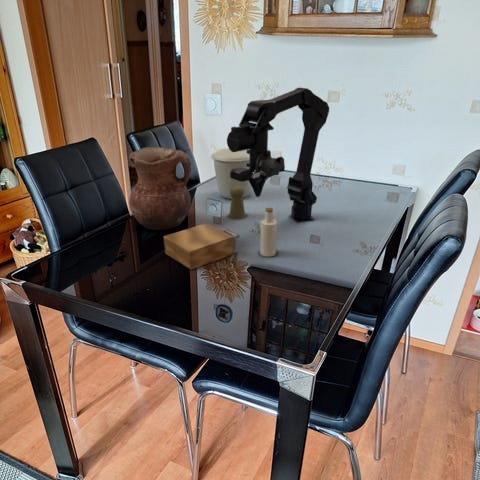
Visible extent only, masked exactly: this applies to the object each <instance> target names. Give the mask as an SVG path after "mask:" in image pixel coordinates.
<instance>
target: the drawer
mask: <svg viewBox="0 0 480 480" xmlns="http://www.w3.org/2000/svg"><path fill="white" fill-rule="evenodd" d="M222 231H223V232H225V233H227V234H229V235H231V236H233V237H234V238H233V239H234V251H236V239H240V234H238V233H237V232H235V231H232V230H230V229H228V228H226V227H225V228H223V229H222Z"/></svg>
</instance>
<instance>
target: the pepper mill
mask: <svg viewBox="0 0 480 480" xmlns="http://www.w3.org/2000/svg"><path fill="white" fill-rule="evenodd" d="M230 195H231V196H232V197H231V199H230V208H229V218H231V219H234V220H240V219H244V218H245V217H246V211H245V204H244V198H243V195H244V189H243V187H241V186H233V187H232V188H231V189H230Z"/></svg>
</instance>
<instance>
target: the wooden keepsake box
mask: <svg viewBox="0 0 480 480" xmlns="http://www.w3.org/2000/svg"><path fill="white" fill-rule="evenodd" d="M233 238H234V237H233V236H231V235H229V234H227V233H225V232H223V230H221V229H219V228H218V227H215V226H213V225H211V224H209V223H202V224H200V225H196V226H193V227H190V228H186V229H183V230H180V231H177V232H173V233H170V234H166V235H163V244H164V253H165V255H167V256H168V257H170V258H172V259H174V260H175V261H176V262H178V263H180V264H181V265H183V266H184V267H186V268H187V269H189V270H194V269H196V268H199V267H202V266H204V265H208V264H209V263H213V262H216V261H219V260H221V259H224V258H227V257H229V256H232V255H234V254H235V250H234V239H233Z"/></svg>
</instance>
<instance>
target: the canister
mask: <svg viewBox="0 0 480 480" xmlns="http://www.w3.org/2000/svg"><path fill="white" fill-rule="evenodd" d="M247 150H249V149H247ZM247 150H243V151H238V152H232V151H231V150H230V149H229V148H228V147H227V148H221V149H218V150H216V151H215V152H213V153H212V154H211V158H212V160H213V166H214V173H215V179H216V185H217V190H218V193H219V195H220V196H221V197H222V198H225V199H229V200H231V197H232V196H231V195H230V189H231V188H232V187H233V186H241V187H243V189H244V195H243V199H244V198H247V197H248V196H249V195H250V194H251V191H252V186H251V184H250V182H249V181H244V182H241V181H238V180H235V179H232V178H230V172H231V170H232V169H234V168H238V167H242V168H245V169H249V167H247V163H249V154H248V153H247Z"/></svg>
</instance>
